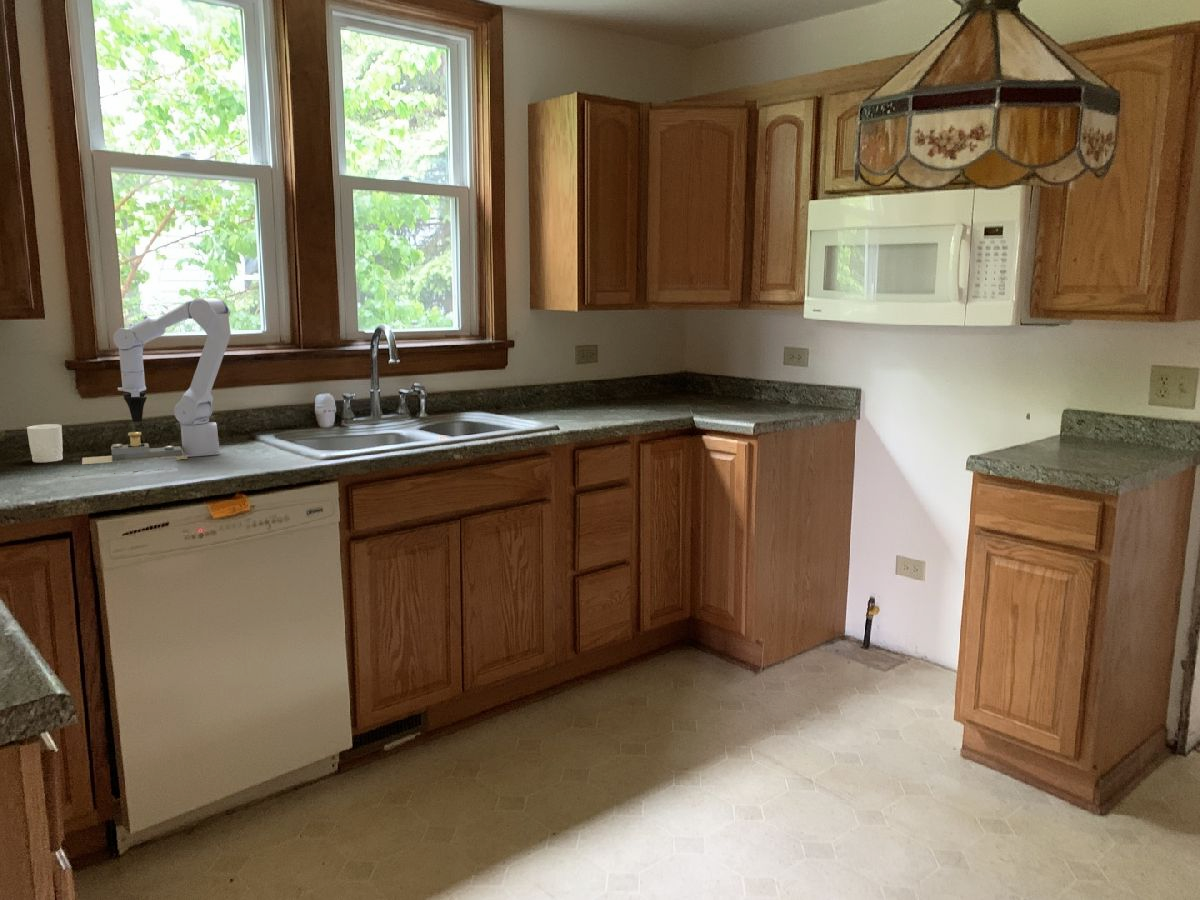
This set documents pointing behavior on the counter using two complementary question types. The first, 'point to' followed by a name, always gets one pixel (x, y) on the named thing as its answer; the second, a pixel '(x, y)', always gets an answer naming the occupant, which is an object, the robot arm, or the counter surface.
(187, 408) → the robot arm
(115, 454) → the door lock with knob
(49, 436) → the white cup
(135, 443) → the brass knob
